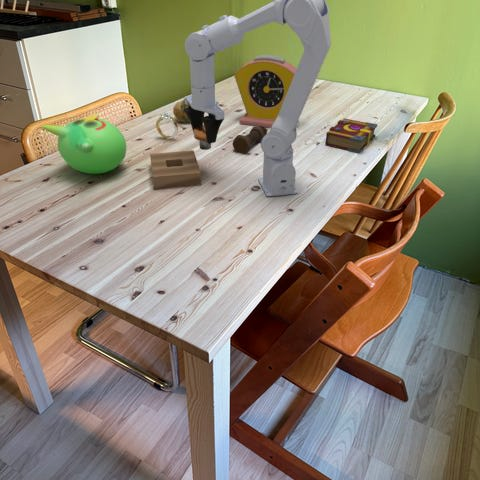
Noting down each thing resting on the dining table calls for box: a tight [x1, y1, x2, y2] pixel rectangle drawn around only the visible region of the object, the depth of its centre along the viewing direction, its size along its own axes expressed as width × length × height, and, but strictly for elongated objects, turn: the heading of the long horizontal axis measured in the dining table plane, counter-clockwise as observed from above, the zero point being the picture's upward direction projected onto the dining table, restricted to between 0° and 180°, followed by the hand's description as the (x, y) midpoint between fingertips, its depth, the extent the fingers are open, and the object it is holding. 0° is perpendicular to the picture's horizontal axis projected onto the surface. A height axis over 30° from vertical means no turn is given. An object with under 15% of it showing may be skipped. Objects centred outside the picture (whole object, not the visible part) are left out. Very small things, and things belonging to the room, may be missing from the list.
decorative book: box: [324, 118, 379, 154], centre depth 137 cm, size 11×16×5 cm
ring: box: [155, 113, 179, 141], centre depth 136 cm, size 7×3×8 cm, turn 66°
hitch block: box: [149, 149, 202, 190], centre depth 117 cm, size 14×12×4 cm
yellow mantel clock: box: [233, 54, 297, 129], centre depth 144 cm, size 22×9×22 cm, turn 71°
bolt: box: [231, 126, 268, 155], centre depth 134 cm, size 6×5×15 cm
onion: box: [172, 98, 190, 123], centre depth 149 cm, size 8×8×8 cm
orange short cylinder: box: [193, 124, 212, 151], centre depth 114 cm, size 6×6×5 cm
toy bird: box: [41, 113, 127, 175], centre depth 116 cm, size 18×17×15 cm
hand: (204, 138), depth 114 cm, fingers closed on orange short cylinder, 6 cm apart
